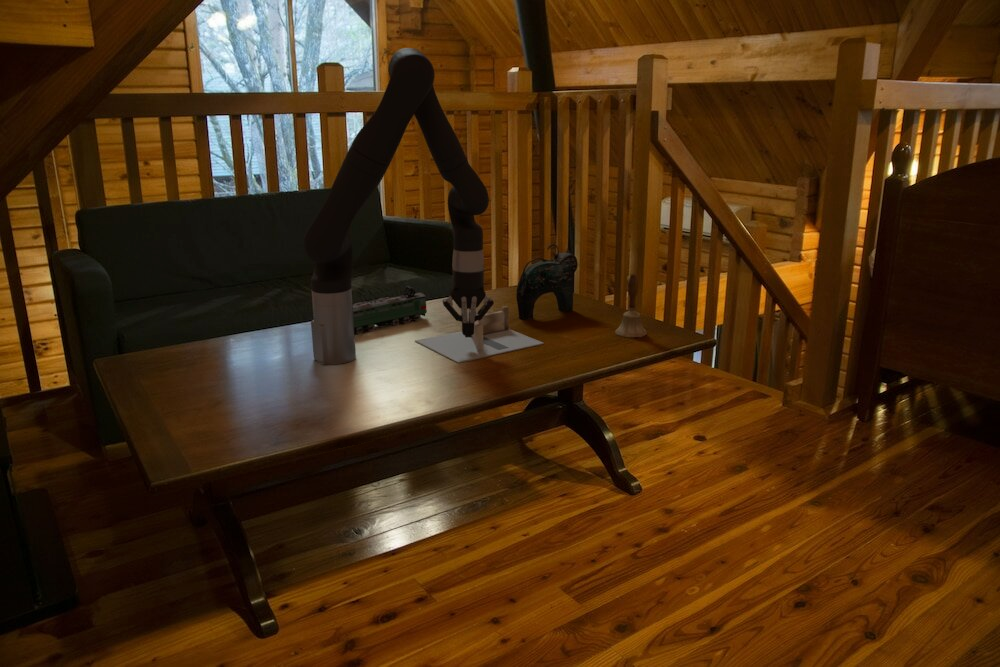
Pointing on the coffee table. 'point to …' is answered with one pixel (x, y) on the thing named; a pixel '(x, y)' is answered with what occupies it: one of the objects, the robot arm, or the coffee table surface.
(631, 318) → the hand bell
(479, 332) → the panel
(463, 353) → the card
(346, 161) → the robot arm
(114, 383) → the coffee table surface
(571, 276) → the black animal figurine
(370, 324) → the toy train
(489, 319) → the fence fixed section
